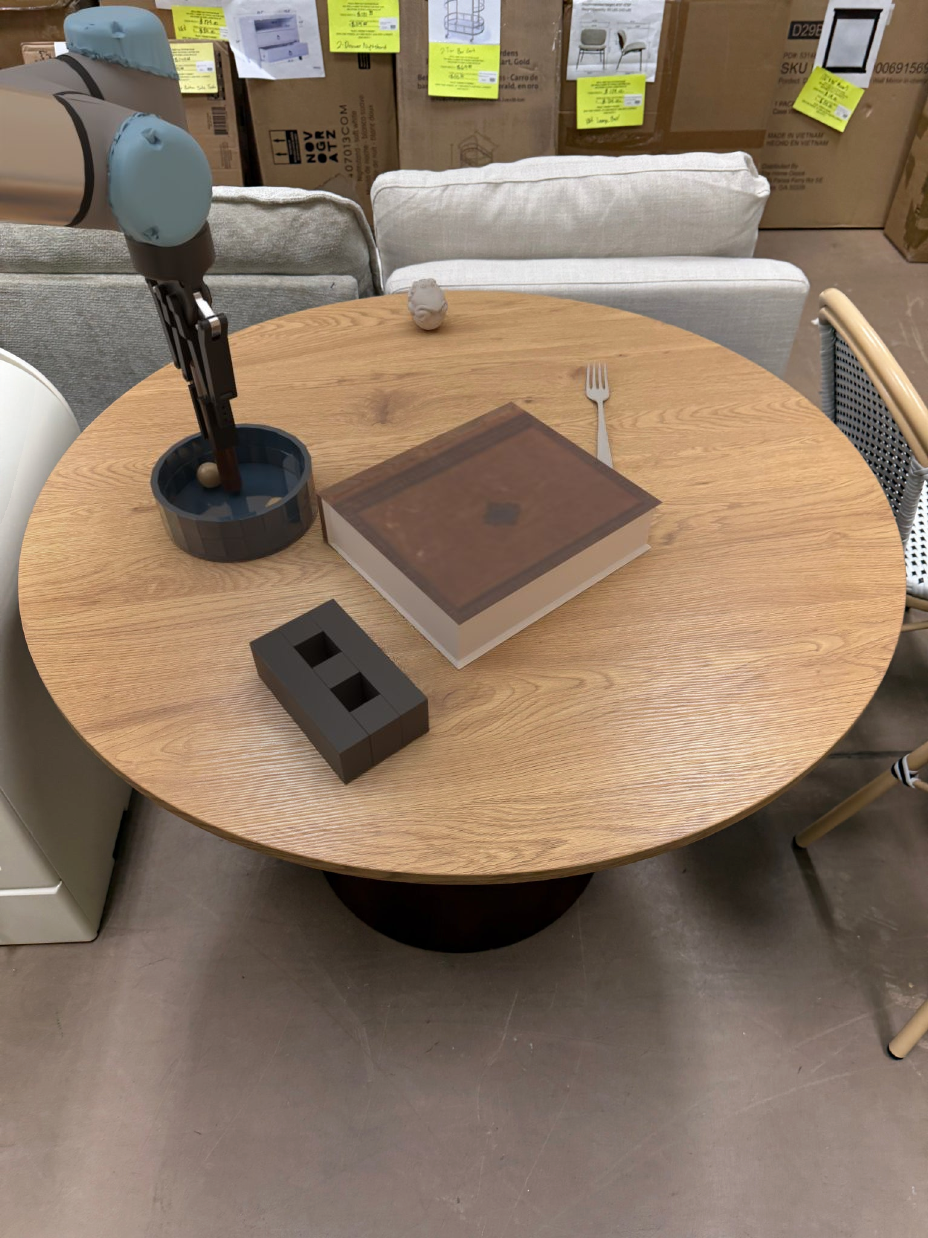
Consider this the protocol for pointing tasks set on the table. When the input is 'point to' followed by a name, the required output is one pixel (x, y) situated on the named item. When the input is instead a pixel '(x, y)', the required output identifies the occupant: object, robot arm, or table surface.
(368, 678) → the holder
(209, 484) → the bead
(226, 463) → the stirring stick
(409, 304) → the grey lumpy oval lump
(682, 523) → the table surface
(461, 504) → the book
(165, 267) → the robot arm
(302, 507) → the bowl
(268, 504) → the bead
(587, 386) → the fork
